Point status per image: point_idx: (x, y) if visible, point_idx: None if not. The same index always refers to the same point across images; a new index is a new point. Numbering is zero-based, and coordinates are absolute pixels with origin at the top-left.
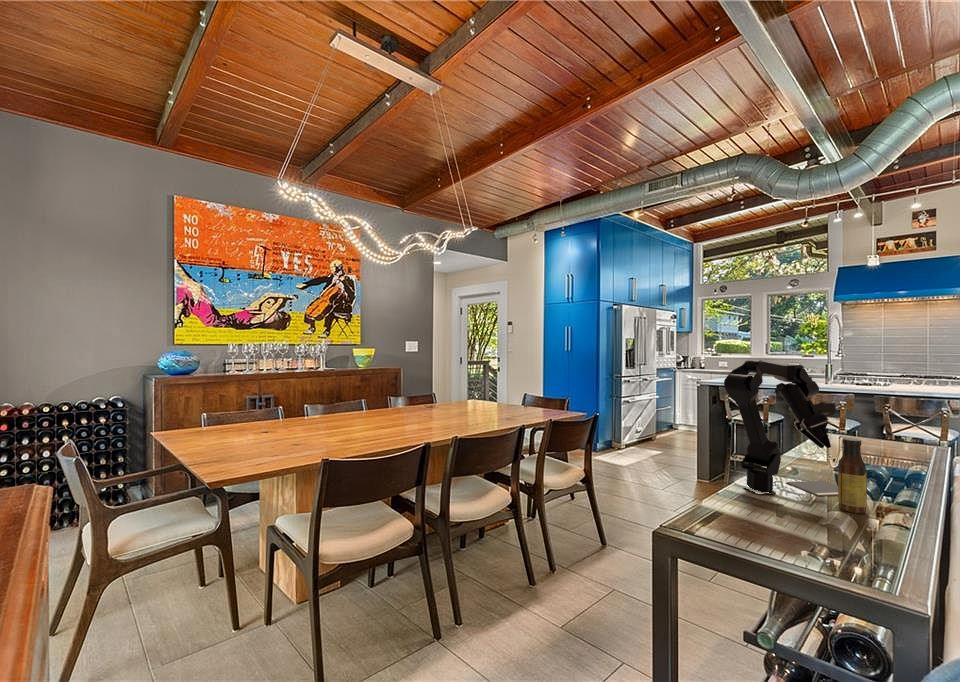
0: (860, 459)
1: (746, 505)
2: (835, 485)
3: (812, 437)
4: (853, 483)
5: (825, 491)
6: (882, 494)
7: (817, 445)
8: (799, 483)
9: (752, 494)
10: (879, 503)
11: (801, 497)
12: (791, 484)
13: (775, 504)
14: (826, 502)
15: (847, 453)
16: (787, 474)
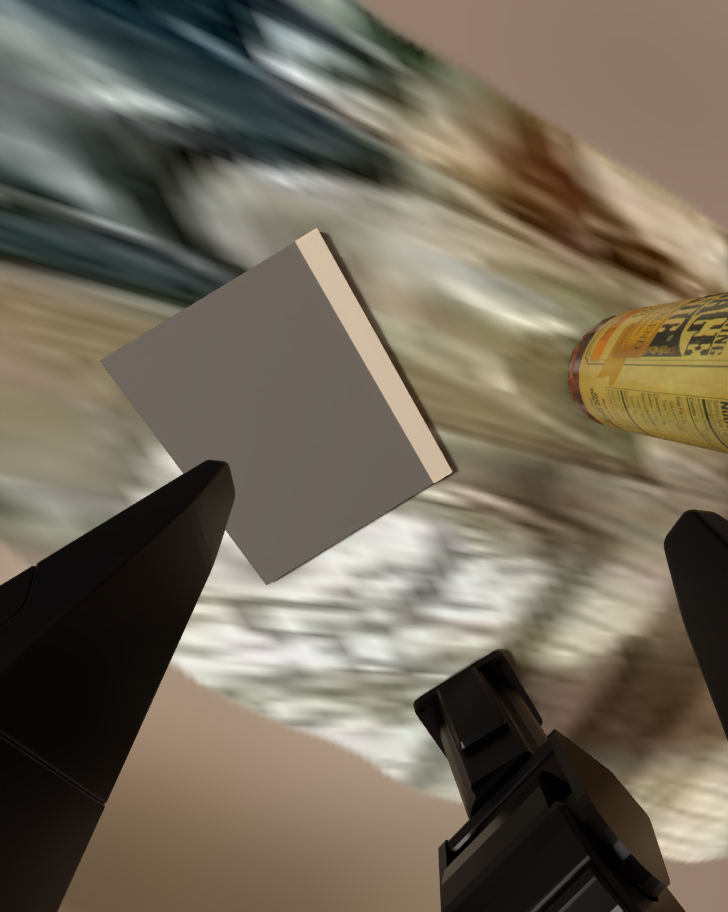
0: None
1: (674, 753)
2: (191, 317)
3: (129, 683)
4: None
5: (364, 417)
6: (229, 51)
7: (209, 545)
8: (260, 522)
9: None
10: (447, 172)
11: (497, 550)
12: (298, 564)
13: (632, 662)
14: (533, 455)
15: None
16: (33, 546)
